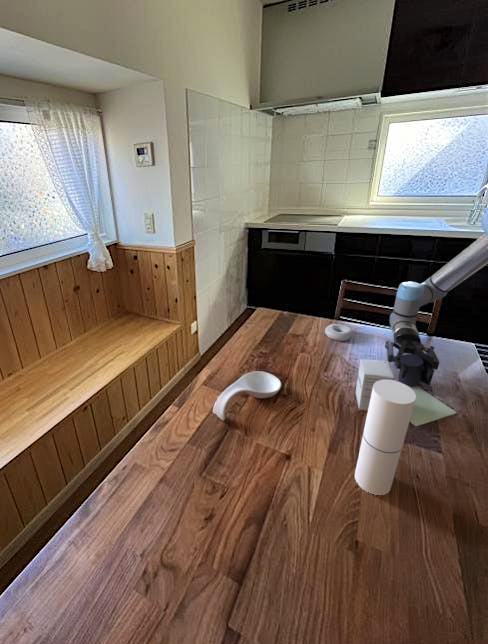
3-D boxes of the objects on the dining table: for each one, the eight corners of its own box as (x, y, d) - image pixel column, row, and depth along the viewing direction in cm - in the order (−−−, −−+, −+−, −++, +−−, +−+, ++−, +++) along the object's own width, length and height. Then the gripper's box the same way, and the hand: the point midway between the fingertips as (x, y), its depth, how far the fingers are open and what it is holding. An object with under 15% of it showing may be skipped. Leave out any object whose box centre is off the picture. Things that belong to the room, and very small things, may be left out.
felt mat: (456, 413, 91) (457, 412, 91) (416, 426, 88) (416, 425, 88) (411, 383, 104) (412, 382, 103) (374, 393, 100) (374, 393, 100)
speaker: (415, 373, 106) (421, 346, 101) (429, 385, 101) (436, 357, 96) (392, 377, 106) (397, 351, 101) (405, 390, 101) (410, 362, 96)
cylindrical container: (349, 481, 75) (367, 392, 65) (361, 461, 79) (380, 375, 69) (384, 502, 70) (409, 409, 60) (395, 479, 75) (420, 389, 64)
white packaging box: (354, 393, 101) (359, 358, 96) (382, 396, 98) (389, 360, 93) (357, 410, 95) (363, 373, 89) (387, 414, 92) (395, 377, 87)
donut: (322, 329, 137) (326, 341, 128) (323, 321, 136) (327, 333, 127) (349, 330, 135) (354, 343, 126) (350, 323, 133) (355, 335, 124)
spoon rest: (259, 375, 112) (260, 357, 109) (288, 392, 103) (290, 373, 100) (205, 407, 99) (204, 388, 96) (233, 430, 90) (233, 410, 87)
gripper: (436, 351, 113) (453, 393, 94) (373, 342, 120) (377, 380, 101) (441, 331, 110) (460, 371, 91) (377, 323, 117) (382, 359, 98)
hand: (417, 376), depth 96 cm, fingers closed on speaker, 6 cm apart
